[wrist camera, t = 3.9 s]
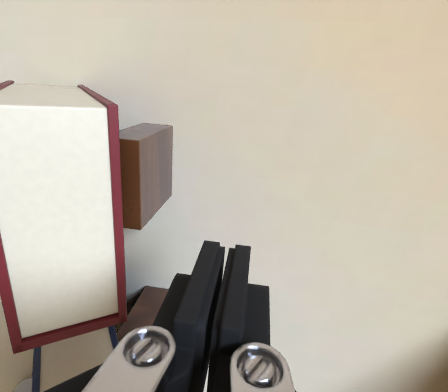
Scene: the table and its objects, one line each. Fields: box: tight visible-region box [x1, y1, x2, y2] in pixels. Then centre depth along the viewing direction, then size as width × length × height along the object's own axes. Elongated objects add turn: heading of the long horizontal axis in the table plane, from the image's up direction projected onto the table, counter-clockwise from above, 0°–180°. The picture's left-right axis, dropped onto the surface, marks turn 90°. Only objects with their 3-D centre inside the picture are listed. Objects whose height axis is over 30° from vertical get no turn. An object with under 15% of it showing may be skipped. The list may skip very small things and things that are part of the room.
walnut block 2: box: [116, 286, 169, 343], centre depth 28 cm, size 2×6×7 cm, turn 176°
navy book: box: [32, 325, 119, 392], centre depth 25 cm, size 15×11×5 cm
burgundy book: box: [0, 81, 127, 354], centre depth 19 cm, size 15×11×5 cm
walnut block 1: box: [119, 123, 173, 230], centre depth 23 cm, size 2×6×7 cm, turn 176°
